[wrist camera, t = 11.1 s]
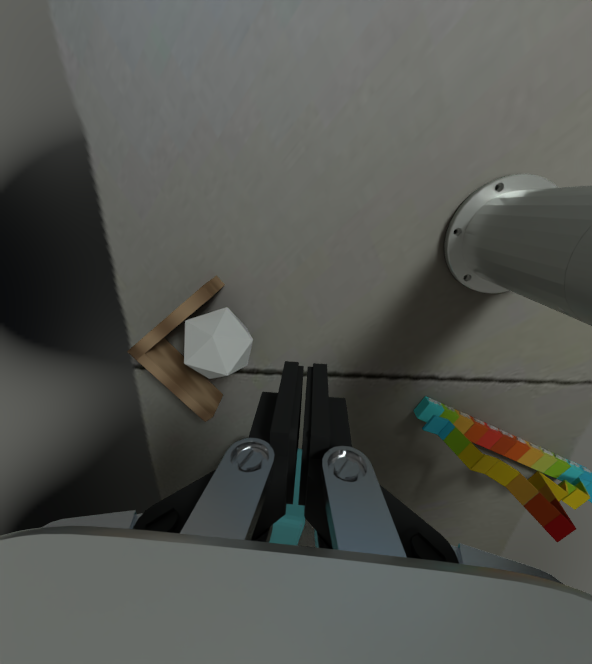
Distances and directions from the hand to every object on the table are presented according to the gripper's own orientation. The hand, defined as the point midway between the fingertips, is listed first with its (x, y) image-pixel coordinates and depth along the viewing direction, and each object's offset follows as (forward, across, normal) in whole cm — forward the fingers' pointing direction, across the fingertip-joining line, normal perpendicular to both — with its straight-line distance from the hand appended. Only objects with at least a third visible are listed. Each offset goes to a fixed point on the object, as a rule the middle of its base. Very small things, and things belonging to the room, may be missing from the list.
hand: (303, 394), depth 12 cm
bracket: (+26, +17, +11) cm, 33 cm away
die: (+26, +11, +9) cm, 30 cm away
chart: (+27, -31, +25) cm, 48 cm away
